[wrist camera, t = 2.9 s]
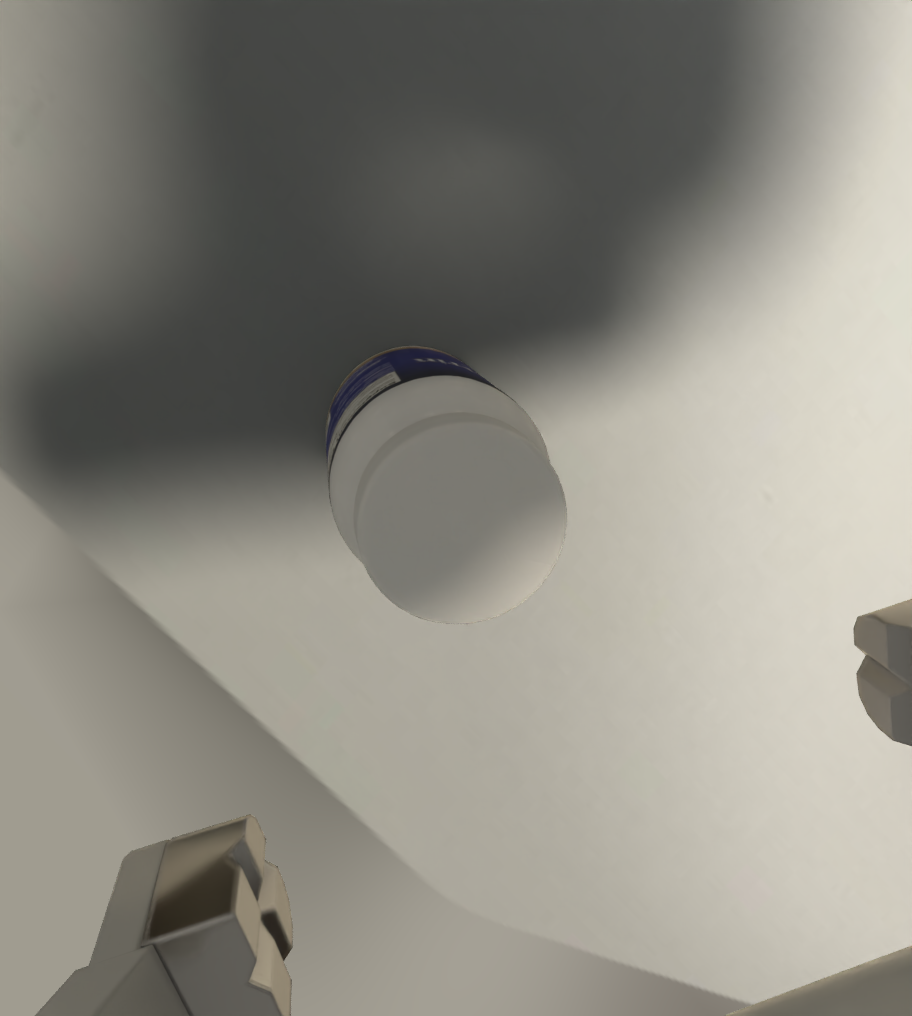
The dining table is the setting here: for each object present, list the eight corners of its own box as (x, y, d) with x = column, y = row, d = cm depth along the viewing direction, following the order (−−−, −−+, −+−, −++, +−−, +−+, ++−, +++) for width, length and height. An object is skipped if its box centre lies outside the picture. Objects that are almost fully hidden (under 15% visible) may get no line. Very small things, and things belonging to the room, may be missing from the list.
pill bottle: (526, 412, 26) (643, 503, 17) (424, 538, 27) (483, 691, 18) (394, 305, 24) (445, 342, 15) (289, 445, 25) (276, 562, 16)
